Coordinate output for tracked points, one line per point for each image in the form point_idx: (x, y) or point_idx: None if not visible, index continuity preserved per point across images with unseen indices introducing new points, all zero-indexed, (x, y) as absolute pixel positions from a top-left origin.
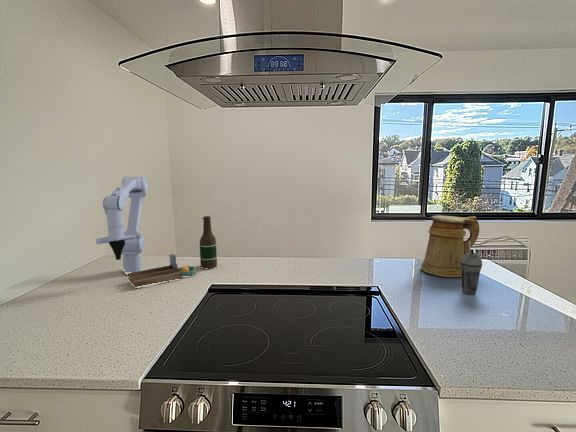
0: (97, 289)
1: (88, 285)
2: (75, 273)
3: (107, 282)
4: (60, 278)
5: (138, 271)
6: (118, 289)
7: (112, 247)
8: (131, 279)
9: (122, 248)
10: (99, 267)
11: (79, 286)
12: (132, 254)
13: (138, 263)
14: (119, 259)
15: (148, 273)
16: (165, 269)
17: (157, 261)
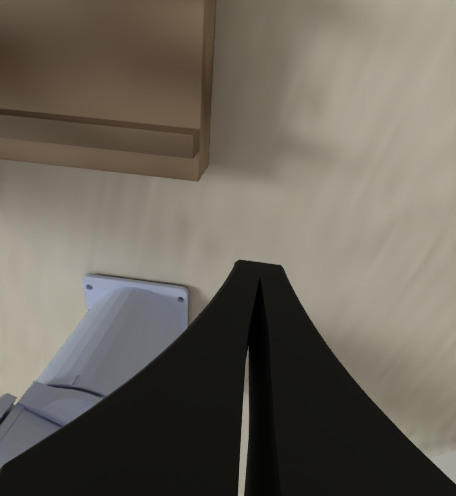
0: (413, 181)
1: (403, 287)
2: None
3: (306, 263)
4: (423, 442)
5: (114, 143)
6: (319, 65)
7: (452, 486)
8: (203, 83)
9: (155, 369)
10: (247, 451)
11: (442, 304)
12: (83, 394)
13: (87, 326)
14: (250, 262)
15: (51, 113)
16: None
17: (14, 375)
